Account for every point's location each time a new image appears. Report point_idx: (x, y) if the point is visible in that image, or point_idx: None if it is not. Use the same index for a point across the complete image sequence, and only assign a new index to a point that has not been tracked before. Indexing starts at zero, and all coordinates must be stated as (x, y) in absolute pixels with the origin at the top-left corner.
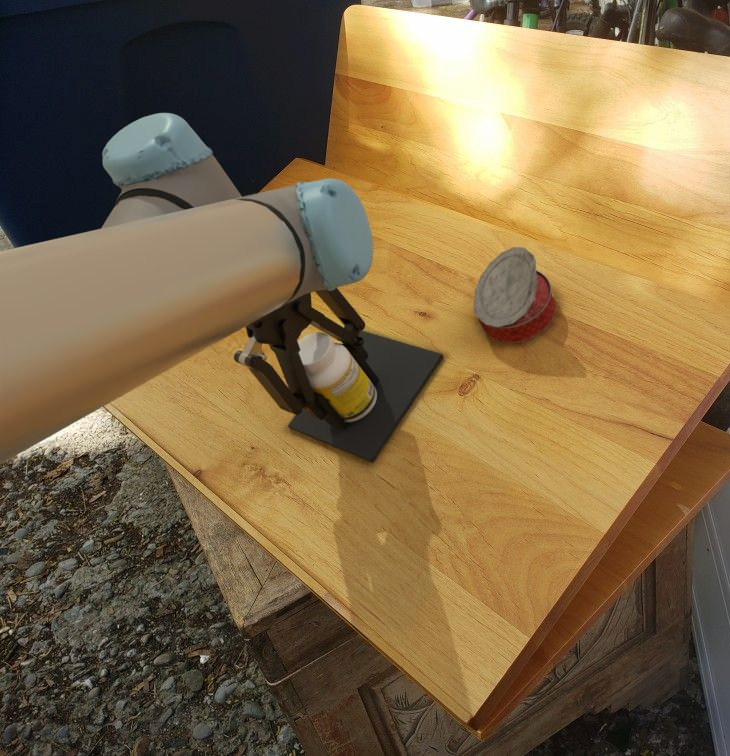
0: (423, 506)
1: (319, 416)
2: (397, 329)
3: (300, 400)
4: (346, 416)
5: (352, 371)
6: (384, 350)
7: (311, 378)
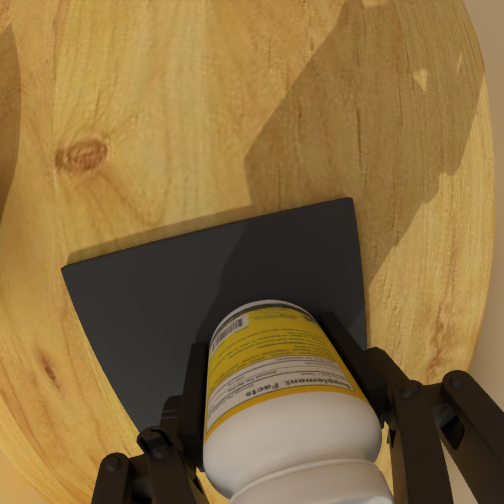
0: (346, 39)
1: (381, 355)
2: (97, 395)
3: (433, 404)
4: (317, 324)
5: (247, 387)
6: (138, 386)
7: (373, 447)
